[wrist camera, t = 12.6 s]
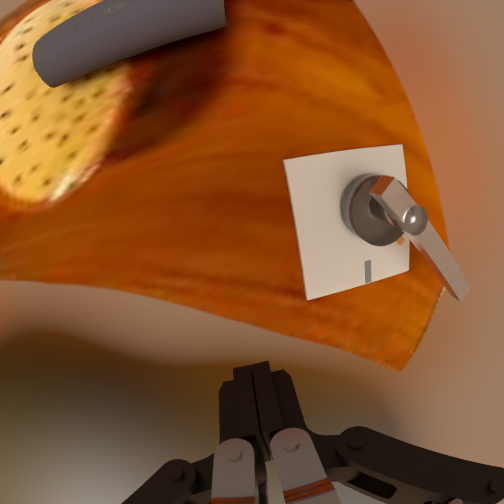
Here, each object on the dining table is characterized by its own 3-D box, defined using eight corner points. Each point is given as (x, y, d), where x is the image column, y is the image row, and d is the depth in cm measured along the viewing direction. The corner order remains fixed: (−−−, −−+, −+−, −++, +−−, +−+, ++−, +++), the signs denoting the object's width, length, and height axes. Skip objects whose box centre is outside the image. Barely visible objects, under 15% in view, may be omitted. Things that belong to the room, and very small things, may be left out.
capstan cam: (318, 201, 35) (360, 223, 24) (359, 151, 33) (414, 153, 22) (404, 285, 41) (447, 322, 29) (436, 244, 39) (485, 271, 28)
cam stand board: (282, 159, 34) (284, 160, 33) (398, 144, 35) (402, 144, 33) (305, 297, 41) (307, 301, 40) (405, 268, 41) (409, 270, 40)
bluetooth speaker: (214, -6, 25) (213, -46, 16) (227, 43, 28) (228, 7, 19) (65, 46, 25) (31, 26, 15) (69, 96, 28) (30, 84, 18)
